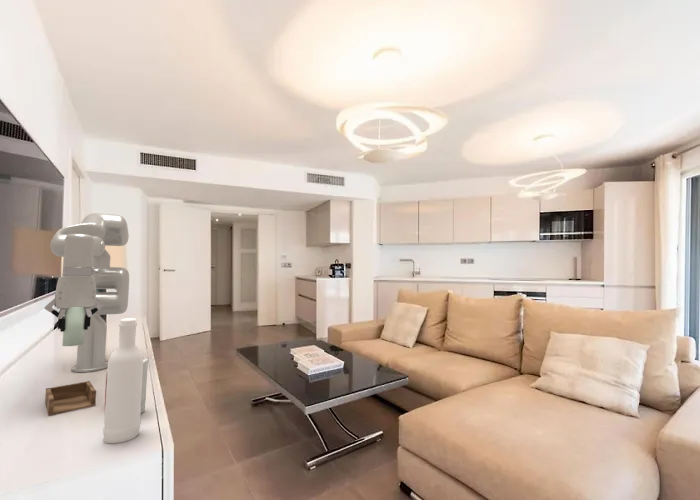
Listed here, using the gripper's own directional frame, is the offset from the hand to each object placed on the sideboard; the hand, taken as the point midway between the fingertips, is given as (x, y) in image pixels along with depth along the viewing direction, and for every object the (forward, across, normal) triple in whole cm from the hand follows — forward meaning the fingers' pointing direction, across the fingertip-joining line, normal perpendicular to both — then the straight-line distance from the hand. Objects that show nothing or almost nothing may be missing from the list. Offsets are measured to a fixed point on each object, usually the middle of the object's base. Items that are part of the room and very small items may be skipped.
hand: (74, 329), depth 109 cm
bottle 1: (+5, 0, 0) cm, 5 cm away
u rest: (+23, 0, 0) cm, 23 cm away
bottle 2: (+24, -7, +33) cm, 42 cm away
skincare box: (+24, -11, +21) cm, 34 cm away
